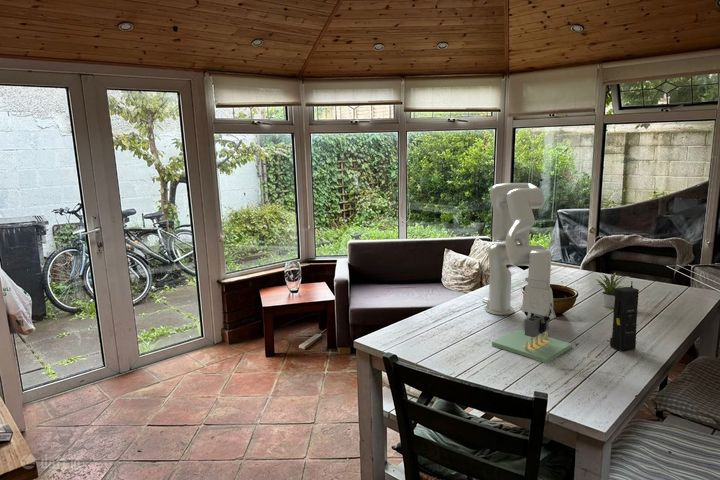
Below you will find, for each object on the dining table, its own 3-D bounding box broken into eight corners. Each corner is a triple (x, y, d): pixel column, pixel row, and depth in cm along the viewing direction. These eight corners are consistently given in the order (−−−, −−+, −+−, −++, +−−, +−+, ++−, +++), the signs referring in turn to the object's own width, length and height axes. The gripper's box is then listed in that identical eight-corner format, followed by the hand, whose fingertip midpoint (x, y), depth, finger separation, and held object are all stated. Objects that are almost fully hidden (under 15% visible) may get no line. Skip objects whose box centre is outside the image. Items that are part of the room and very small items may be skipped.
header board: (491, 345, 183) (492, 332, 182) (518, 332, 195) (518, 320, 194) (546, 363, 167) (547, 349, 166) (571, 347, 179) (572, 334, 178)
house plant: (620, 301, 230) (623, 268, 227) (634, 310, 216) (637, 275, 213) (590, 301, 231) (592, 268, 228) (601, 310, 218) (603, 275, 215)
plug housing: (524, 335, 176) (525, 319, 175) (539, 327, 183) (540, 312, 182) (533, 337, 173) (534, 322, 172) (548, 329, 180) (549, 314, 179)
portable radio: (619, 352, 173) (624, 286, 169) (606, 346, 179) (611, 281, 174) (637, 349, 175) (642, 284, 171) (624, 343, 181) (629, 279, 177)
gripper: (513, 281, 178) (511, 327, 182) (555, 289, 166) (553, 339, 169) (523, 277, 183) (522, 322, 187) (566, 285, 171) (563, 333, 174)
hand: (537, 330), depth 178 cm, fingers closed on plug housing, 3 cm apart
